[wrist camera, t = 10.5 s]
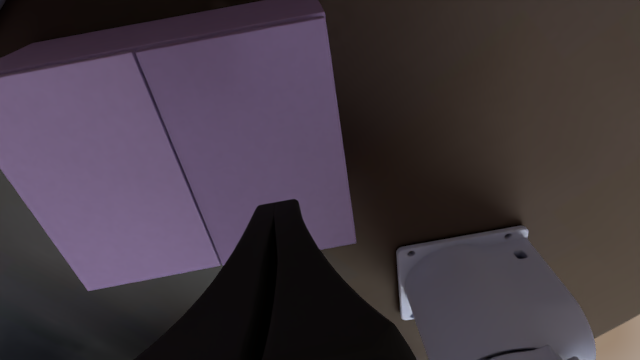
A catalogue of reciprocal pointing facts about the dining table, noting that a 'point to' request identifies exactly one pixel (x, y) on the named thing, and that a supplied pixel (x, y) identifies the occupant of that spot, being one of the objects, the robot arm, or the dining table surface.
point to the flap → (101, 171)
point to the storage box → (238, 109)
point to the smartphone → (2, 3)
